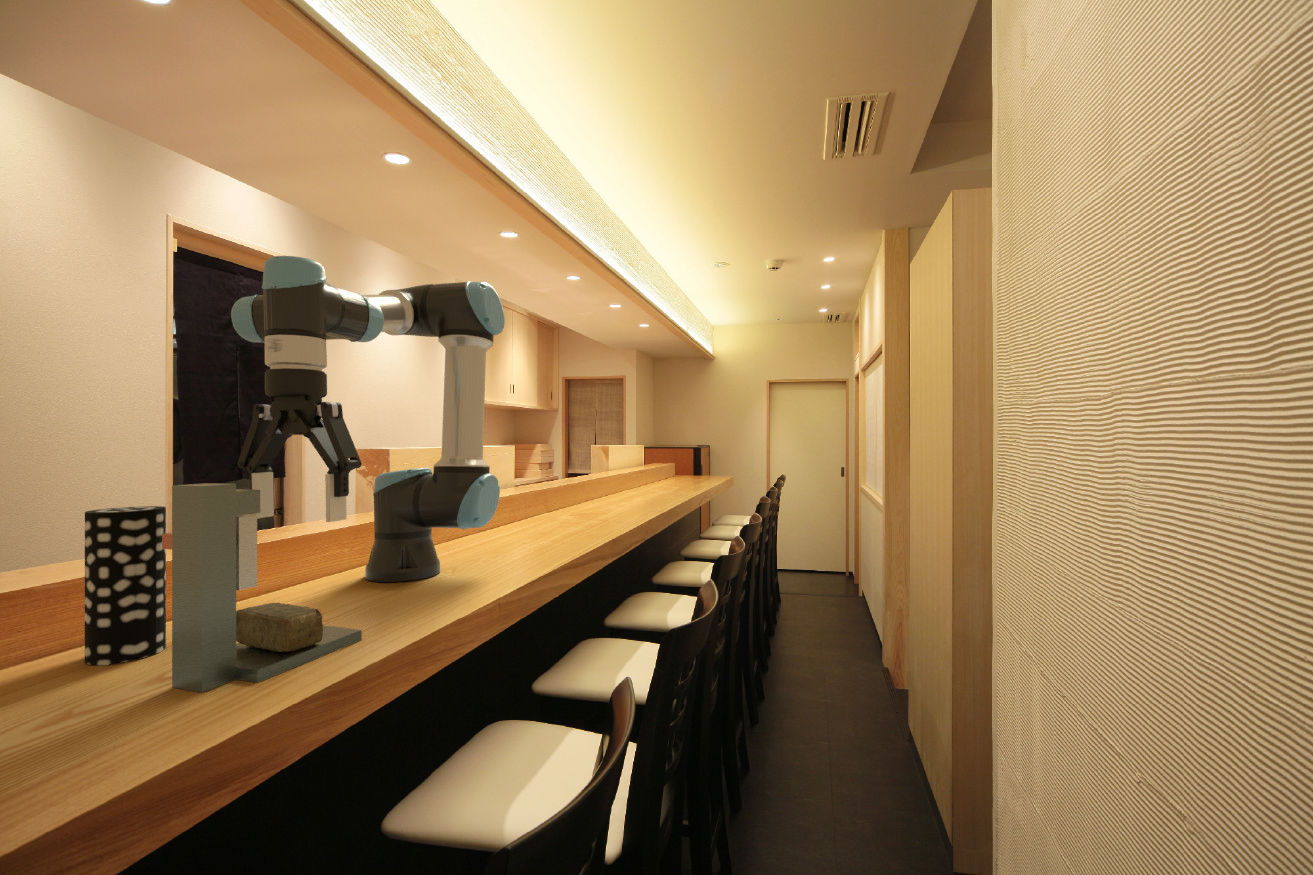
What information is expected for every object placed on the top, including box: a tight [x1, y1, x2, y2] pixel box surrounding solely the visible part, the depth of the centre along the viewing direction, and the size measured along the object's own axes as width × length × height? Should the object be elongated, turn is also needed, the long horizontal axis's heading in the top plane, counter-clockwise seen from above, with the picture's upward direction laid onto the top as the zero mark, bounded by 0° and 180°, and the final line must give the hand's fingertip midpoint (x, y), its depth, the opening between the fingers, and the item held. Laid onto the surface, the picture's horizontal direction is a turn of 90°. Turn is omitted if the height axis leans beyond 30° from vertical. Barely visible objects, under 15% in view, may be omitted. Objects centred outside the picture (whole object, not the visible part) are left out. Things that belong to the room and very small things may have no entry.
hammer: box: [162, 514, 258, 591], centre depth 77 cm, size 4×13×9 cm, turn 72°
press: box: [171, 482, 363, 694], centre depth 78 cm, size 20×12×24 cm, turn 162°
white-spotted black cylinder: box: [84, 505, 167, 666], centre depth 81 cm, size 8×8×20 cm
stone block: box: [236, 602, 323, 652], centre depth 80 cm, size 6×12×5 cm, turn 67°
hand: (299, 519), depth 83 cm, fingers open, 13 cm apart
